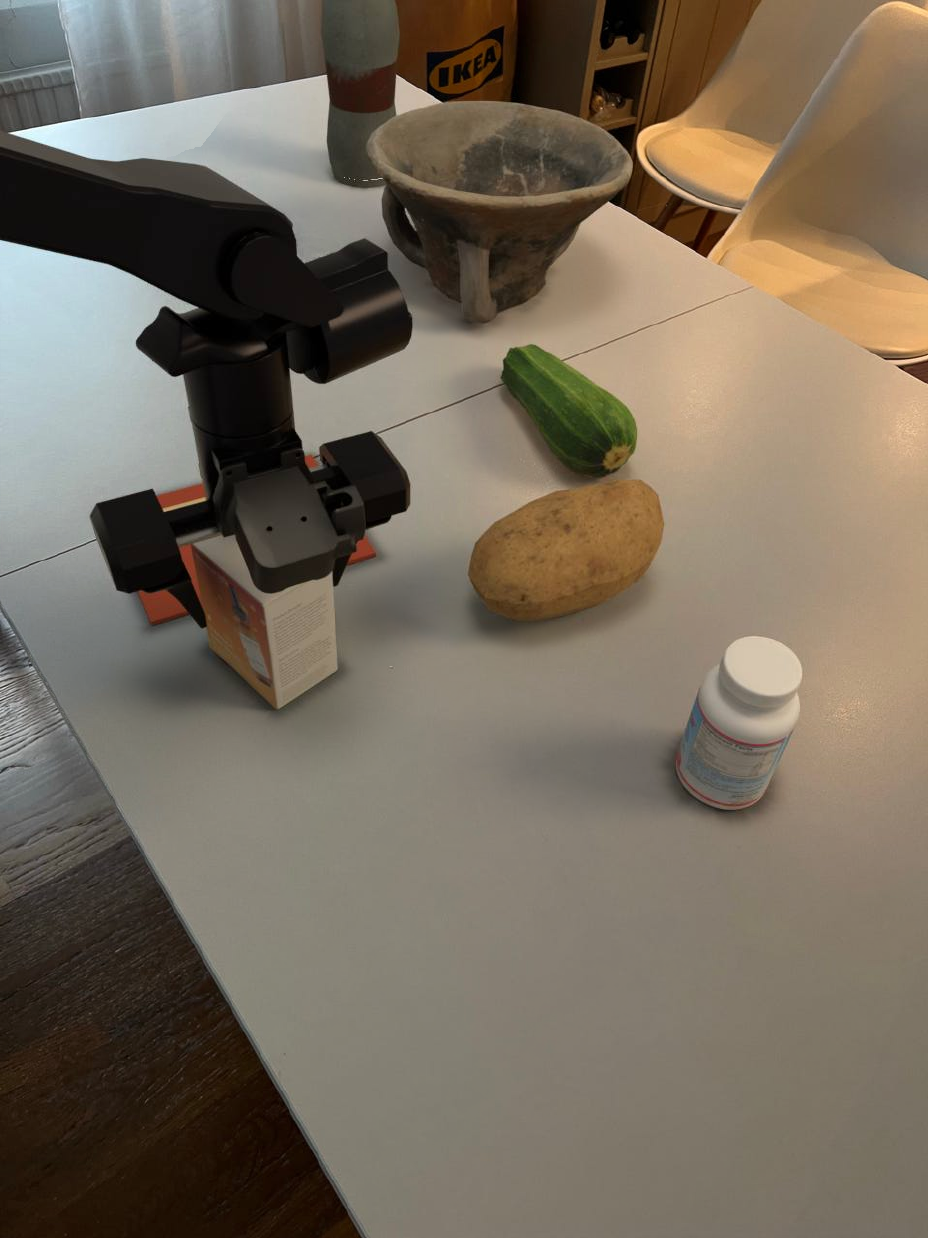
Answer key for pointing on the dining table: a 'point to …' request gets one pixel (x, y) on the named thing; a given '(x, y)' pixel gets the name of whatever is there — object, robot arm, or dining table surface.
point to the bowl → (492, 194)
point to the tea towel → (165, 604)
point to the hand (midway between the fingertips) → (268, 602)
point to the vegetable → (571, 412)
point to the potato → (568, 550)
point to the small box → (266, 624)
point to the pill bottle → (740, 723)
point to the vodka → (358, 81)
